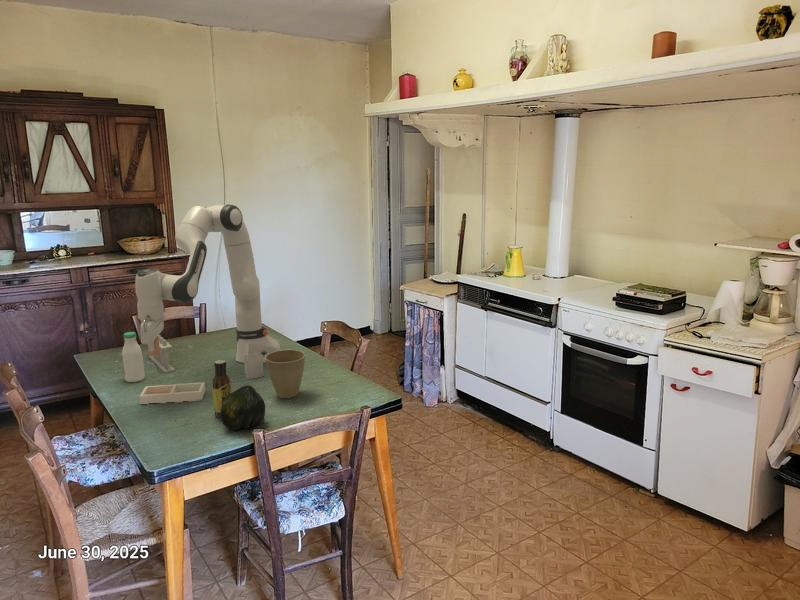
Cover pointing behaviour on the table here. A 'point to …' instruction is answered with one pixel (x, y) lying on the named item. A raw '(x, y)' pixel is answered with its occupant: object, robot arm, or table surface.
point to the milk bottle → (132, 359)
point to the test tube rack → (163, 356)
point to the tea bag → (253, 366)
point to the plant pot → (285, 371)
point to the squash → (243, 408)
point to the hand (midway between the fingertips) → (154, 348)
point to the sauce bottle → (220, 386)
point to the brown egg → (157, 348)
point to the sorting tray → (172, 393)
